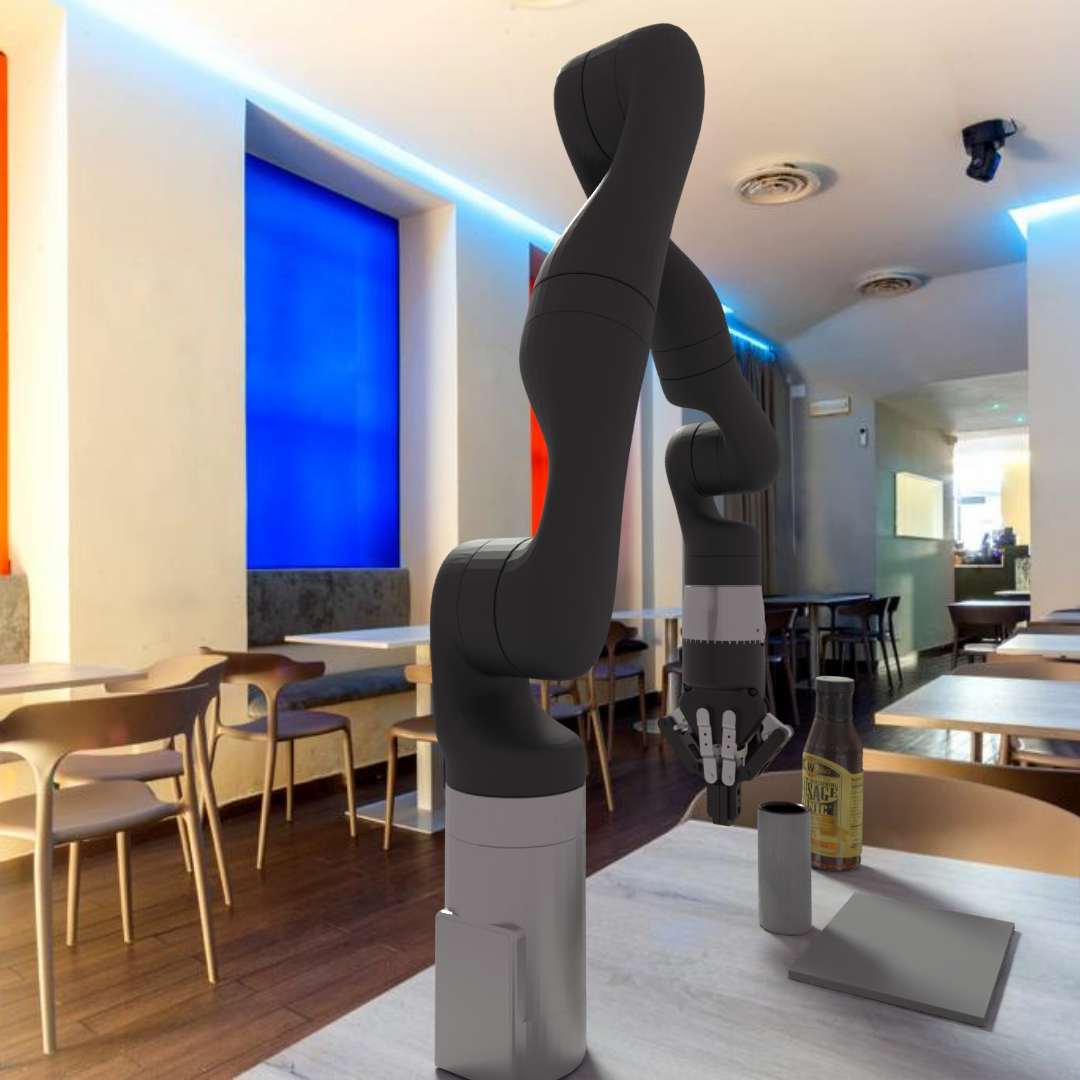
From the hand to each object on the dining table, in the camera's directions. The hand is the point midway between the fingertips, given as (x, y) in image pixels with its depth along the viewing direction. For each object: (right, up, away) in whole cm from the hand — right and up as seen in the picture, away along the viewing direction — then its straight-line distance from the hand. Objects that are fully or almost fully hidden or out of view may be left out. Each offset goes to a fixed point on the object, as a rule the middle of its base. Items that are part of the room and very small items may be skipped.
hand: (724, 823), depth 82 cm
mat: (+13, -8, -9) cm, 18 cm away
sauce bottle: (+14, -9, +13) cm, 21 cm away
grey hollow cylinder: (+5, -8, -3) cm, 10 cm away
